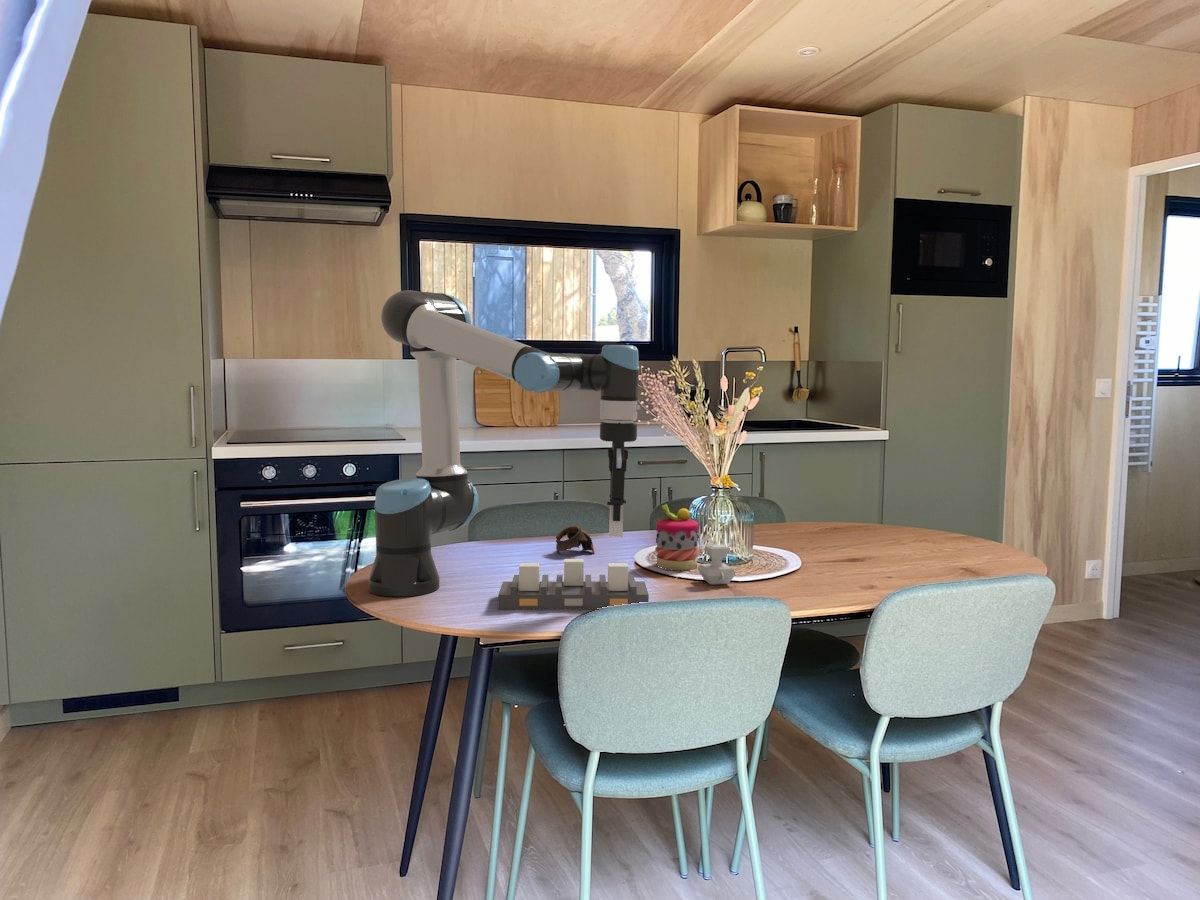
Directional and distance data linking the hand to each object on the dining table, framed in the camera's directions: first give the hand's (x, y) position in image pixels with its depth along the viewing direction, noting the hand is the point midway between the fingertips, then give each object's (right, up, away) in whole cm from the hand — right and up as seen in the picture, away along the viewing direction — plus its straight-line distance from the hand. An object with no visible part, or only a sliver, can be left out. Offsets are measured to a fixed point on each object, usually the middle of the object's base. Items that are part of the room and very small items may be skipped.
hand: (615, 535), depth 183 cm
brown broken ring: (-10, -10, +49) cm, 51 cm away
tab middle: (-9, -10, +3) cm, 14 cm away
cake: (+16, -11, +34) cm, 39 cm away
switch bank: (-9, -14, 0) cm, 16 cm away
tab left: (-18, -11, -2) cm, 21 cm away
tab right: (0, -11, -1) cm, 11 cm away
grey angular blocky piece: (+23, -13, +18) cm, 32 cm away
